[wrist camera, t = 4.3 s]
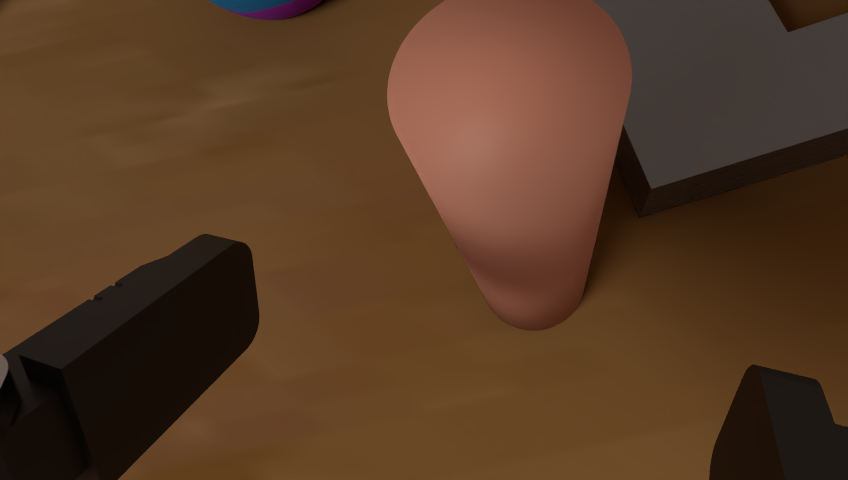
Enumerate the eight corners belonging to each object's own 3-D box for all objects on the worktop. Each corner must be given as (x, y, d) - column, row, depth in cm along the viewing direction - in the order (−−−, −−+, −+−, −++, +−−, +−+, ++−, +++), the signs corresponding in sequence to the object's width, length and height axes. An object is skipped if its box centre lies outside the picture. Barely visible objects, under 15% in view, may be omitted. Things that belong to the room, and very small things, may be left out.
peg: (498, 342, 19) (418, 224, 8) (470, 248, 20) (366, 26, 9) (599, 313, 18) (672, 142, 7) (565, 219, 20) (582, -53, 8)
